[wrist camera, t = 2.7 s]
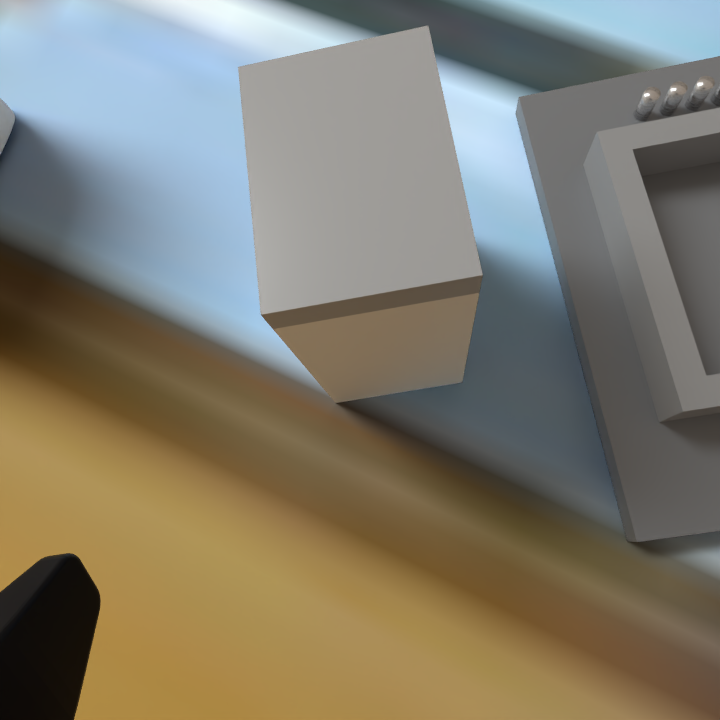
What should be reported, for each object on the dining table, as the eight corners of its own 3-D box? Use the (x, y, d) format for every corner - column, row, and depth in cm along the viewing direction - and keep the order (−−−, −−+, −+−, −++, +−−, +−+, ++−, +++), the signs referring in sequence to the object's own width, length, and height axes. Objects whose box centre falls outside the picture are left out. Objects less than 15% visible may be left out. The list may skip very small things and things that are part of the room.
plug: (335, 403, 22) (261, 314, 13) (315, 245, 24) (237, 67, 15) (462, 382, 22) (482, 275, 12) (431, 223, 24) (427, 25, 14)
